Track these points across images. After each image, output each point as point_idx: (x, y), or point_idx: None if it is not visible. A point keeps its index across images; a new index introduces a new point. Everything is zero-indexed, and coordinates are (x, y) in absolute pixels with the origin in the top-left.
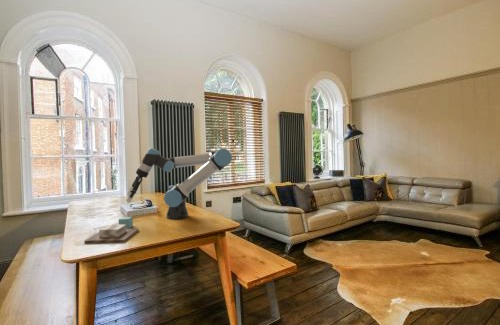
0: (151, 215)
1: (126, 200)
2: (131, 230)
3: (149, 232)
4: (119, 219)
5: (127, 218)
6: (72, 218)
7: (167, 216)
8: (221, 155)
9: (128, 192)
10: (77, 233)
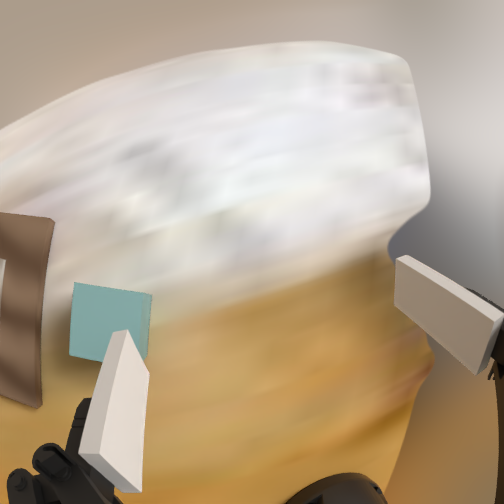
0: (392, 378)
1: (111, 339)
2: (10, 376)
3: (34, 449)
4: (74, 288)
5: (87, 342)
6: (350, 45)
7: (306, 494)
8: None
9: (420, 276)
10: (84, 110)
